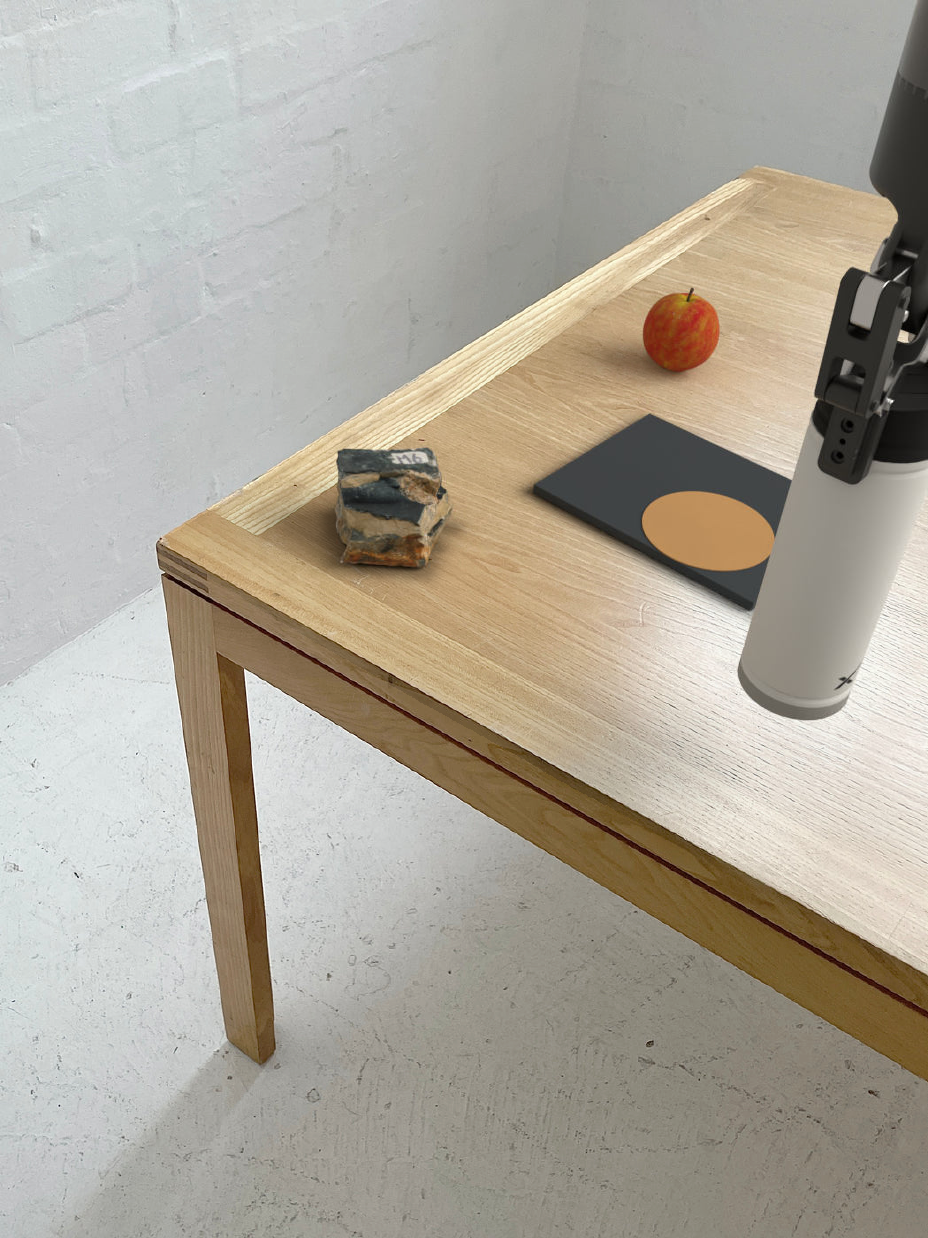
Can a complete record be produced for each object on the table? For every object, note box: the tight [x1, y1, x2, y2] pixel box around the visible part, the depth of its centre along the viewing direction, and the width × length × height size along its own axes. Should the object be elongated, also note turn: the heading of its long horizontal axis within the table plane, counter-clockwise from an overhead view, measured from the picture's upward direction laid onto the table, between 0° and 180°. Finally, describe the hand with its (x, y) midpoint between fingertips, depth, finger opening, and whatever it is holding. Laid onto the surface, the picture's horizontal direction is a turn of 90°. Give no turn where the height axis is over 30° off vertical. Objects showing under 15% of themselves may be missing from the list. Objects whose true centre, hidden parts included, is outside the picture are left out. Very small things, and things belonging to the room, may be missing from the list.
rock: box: [334, 446, 454, 569], centre depth 82 cm, size 9×9×6 cm
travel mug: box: [736, 359, 928, 721], centre depth 58 cm, size 6×7×20 cm
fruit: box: [642, 287, 721, 373], centre depth 104 cm, size 7×7×8 cm
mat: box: [532, 413, 792, 612], centre depth 89 cm, size 20×16×1 cm
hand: (874, 447), depth 54 cm, fingers closed on travel mug, 6 cm apart
